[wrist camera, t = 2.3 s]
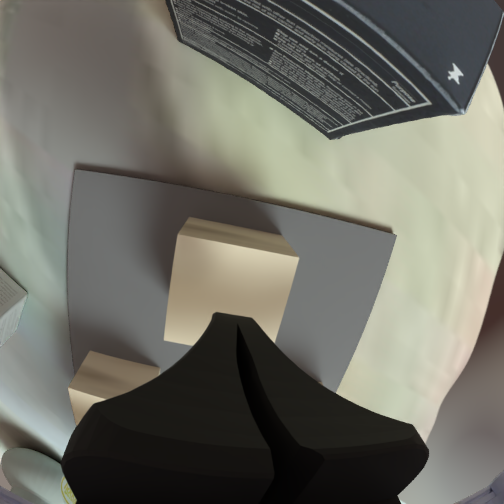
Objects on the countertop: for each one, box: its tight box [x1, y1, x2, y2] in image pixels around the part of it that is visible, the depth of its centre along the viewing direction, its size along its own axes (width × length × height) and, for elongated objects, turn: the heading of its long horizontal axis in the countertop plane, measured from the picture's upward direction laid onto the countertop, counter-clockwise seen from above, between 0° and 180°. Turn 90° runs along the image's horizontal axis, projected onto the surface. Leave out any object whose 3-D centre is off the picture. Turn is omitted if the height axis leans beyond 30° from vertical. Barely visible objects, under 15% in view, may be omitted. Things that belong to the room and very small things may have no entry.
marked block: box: [68, 351, 160, 426], centre depth 16 cm, size 5×5×4 cm
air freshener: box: [1, 448, 76, 504], centre depth 17 cm, size 11×8×10 cm
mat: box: [68, 169, 397, 393], centre depth 18 cm, size 18×19×1 cm
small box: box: [165, 0, 504, 140], centre depth 9 cm, size 11×6×10 cm, turn 55°
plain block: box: [164, 217, 299, 346], centre depth 15 cm, size 5×5×4 cm
